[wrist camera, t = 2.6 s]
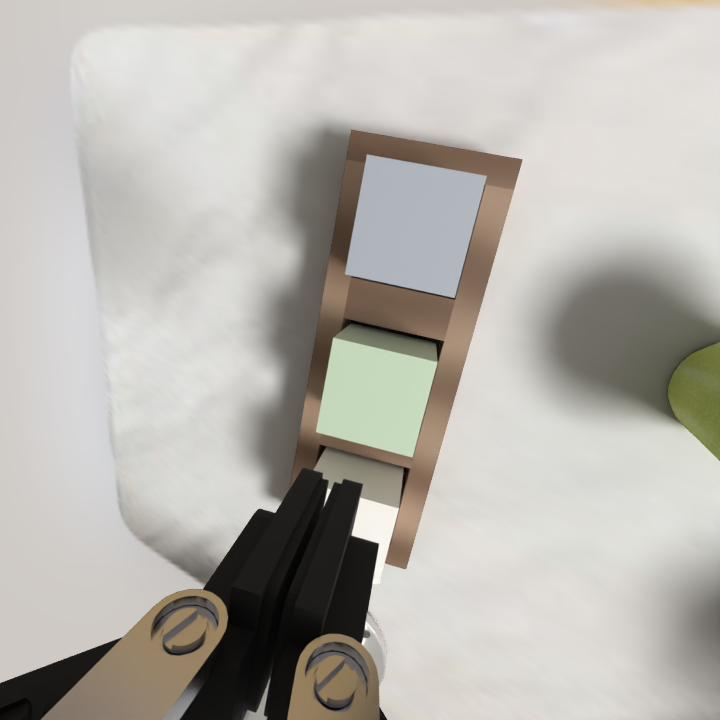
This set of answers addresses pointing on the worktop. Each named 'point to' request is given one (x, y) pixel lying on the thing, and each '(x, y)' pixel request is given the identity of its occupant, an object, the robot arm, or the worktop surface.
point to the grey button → (413, 224)
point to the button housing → (406, 315)
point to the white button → (367, 495)
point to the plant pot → (699, 396)
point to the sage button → (377, 388)
